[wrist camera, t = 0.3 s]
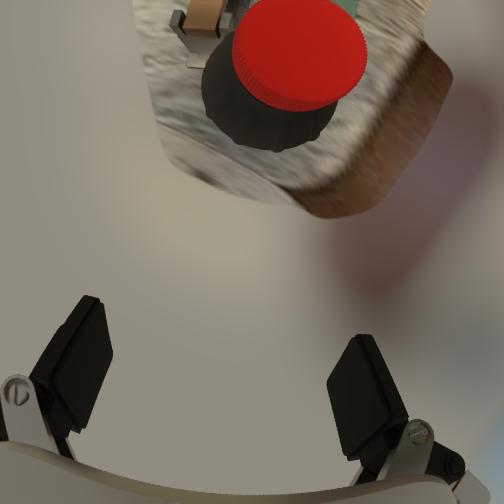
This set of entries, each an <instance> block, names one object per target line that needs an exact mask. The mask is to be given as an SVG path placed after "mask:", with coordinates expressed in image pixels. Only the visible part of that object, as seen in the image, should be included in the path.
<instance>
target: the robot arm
mask: <svg viewBox="0 0 504 504" xmlns="http://www.w3.org/2000/svg"><path fill="white" fill-rule="evenodd" d="M112 358H113V350H112V346H111V341H110V336H109V332H108V326H107V320H106V314H105V309H104V304H103V303H101V302H100V300H99V298H96V297H92V296H88V295H84V296H83V297H82V298H81V300H80V301H79V303H78V304H77V305H76V307H75V308H74V310H73V311H72V313H71V314H70V315H69V317H68V318H67V320H66V322H65V323H64V324H63V325H61V326H60V327H59V328H58V330H57V331H56V333H55V334H54V336H53V337H52V339H51V341H50V342H49V344H48V345H47V347H46V349H45V350H44V352H43V354H42V355H41V357H40V359H39V360H38V362H37V364H36V366H35V367H34V369H33V370H32V372H31V374H30V376H29V377H28V378H27V377H26V376H24V375H20V374H17V375H12V376H10V377H8V378H7V379H6V380H5V381H4V382H3V384H2V386H1V389H0V504H488V503H489V501H490V493H489V491H488V490H487V488H486V487H485V486H484V485H483V484H482V483H481V482H480V481H479V480H478V479H477V478H476V477H475V476H474V475H473V474H472V473H471V472H470V471H469V470H466V471H465V462H464V460H463V458H462V457H461V456H460V455H459V454H458V453H456V452H454V451H452V450H450V449H448V448H446V447H445V446H443V445H441V444H439V443H437V442H435V441H434V431H433V429H432V428H431V426H430V425H429V424H428V423H427V422H425V421H423V420H420V419H413V420H411V421H410V422H409V421H408V417H409V415H408V413H407V411H406V408H405V406H404V403H403V401H402V399H401V396H400V394H399V392H398V390H397V387H396V385H395V383H394V381H393V378H392V376H391V374H390V372H389V370H388V368H387V365H386V363H385V361H384V359H383V357H382V355H381V353H380V350H379V349H378V347H377V344H376V342H375V340H374V338H373V336H372V335H370V334H357V335H356V336H355V337H353V338H352V339H351V340H350V341H349V343H348V345H347V347H346V349H345V350H344V352H343V354H342V356H341V358H340V360H339V361H338V363H337V364H336V366H335V368H334V370H333V371H332V373H331V374H330V376H329V378H328V380H327V390H328V394H329V398H330V402H331V406H332V410H333V413H334V418H335V422H336V426H337V430H338V435H339V439H340V443H341V447H342V451H343V454H344V455H345V456H347V460H348V461H353V460H359V459H360V462H361V466H360V468H359V469H358V471H357V473H356V475H355V476H354V478H353V480H352V481H351V483H350V485H349V486H348V487H344V488H337V489H331V490H325V491H316V492H307V493H297V494H281V495H232V494H216V493H205V492H196V491H189V490H182V489H175V488H170V487H164V486H159V485H154V484H150V483H145V482H141V481H137V480H133V479H129V478H126V477H122V476H118V475H115V474H112V473H109V472H106V471H102V470H99V469H96V468H93V467H90V466H87V465H85V464H82V463H80V462H78V460H77V458H76V456H75V454H74V452H73V449H72V447H71V445H70V442H69V440H68V436H69V432H70V430H71V431H74V432H77V433H79V434H80V432H81V429H82V428H83V429H84V428H86V426H87V424H88V421H89V418H90V415H91V412H92V410H93V406H94V404H95V401H96V399H97V396H98V393H99V391H100V388H101V386H102V383H103V381H104V378H105V376H106V373H107V371H108V368H109V366H110V364H111V361H112Z"/></svg>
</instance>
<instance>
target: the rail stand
mask: <svg viewBox="0 0 504 504" xmlns="http://www.w3.org/2000/svg"><path fill="white" fill-rule="evenodd" d="M249 2H250V0H228V3H227V6H226V10H225V12H223V15H222V18H221V22H220V26H219V30H220V32H219V36H218V39H214V38H203V37H189V36H188V35H187V34H186V32H185V31H184V29H183V25H184V22H185V18H186V16H185V14H184V12H183V11H182V10H174V11H173V14H172V18H171V21H170V24H169V26H170V27H171V28H172V29H173V30H174V32H175V33H176V34H177V35H178V38H179V39H180V40H181V41H182V42H183V44H184V45H185V46H186V47H187V48H188V50H189V55H188V59H187V63H186V67H187V68H198V69H204V67H205V65H206V62H207V60H208V58H209V57H210V55H211V54H212V52H213V51H214V50H215V48H216V47H217V46H218V45H219V44H220V43H221V42H222V41H223V38H224V36H225V35H227V34H228V33H230V32H232V31H236V29H237V27H238V24H239V22H240V20H241V19H242V17H243V16H244V14H245V13H246V12H247V9H248V6H249Z"/></svg>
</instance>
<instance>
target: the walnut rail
mask: <svg viewBox="0 0 504 504" xmlns="http://www.w3.org/2000/svg"><path fill="white" fill-rule="evenodd" d="M227 3H228V0H191V2H190V5H189V8H188V11H187V15H186V18H185V22H184V25H183V29H184V31H185V32H186V34H187V35H188V36H189V37H203V38H214V39H218V36H219V32H220V30H219V26H220V22H221V18H222V15H223V12H225V10H226V6H227Z"/></svg>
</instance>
